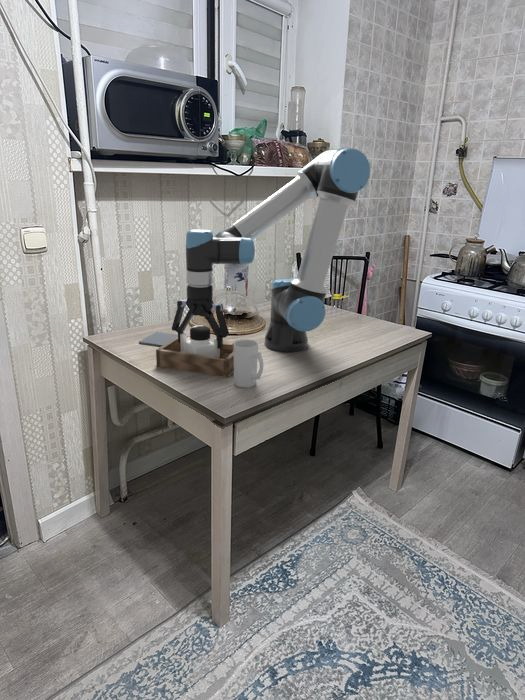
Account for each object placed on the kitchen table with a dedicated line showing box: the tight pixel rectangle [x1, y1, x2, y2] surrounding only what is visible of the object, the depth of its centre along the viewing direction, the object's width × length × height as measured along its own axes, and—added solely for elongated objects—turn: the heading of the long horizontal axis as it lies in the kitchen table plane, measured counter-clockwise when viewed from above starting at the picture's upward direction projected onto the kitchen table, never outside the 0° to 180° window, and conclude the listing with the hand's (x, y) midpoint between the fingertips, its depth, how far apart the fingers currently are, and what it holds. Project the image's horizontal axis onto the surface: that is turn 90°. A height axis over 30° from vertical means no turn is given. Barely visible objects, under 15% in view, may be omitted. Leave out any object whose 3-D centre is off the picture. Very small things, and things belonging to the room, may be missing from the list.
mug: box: [233, 339, 264, 389], centre depth 132 cm, size 10×7×12 cm, turn 46°
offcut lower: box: [219, 353, 230, 359], centre depth 151 cm, size 8×4×3 cm, turn 72°
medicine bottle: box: [185, 324, 214, 357], centre depth 145 cm, size 7×7×12 cm
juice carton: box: [223, 264, 249, 297], centre depth 197 cm, size 9×10×27 cm
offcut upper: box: [220, 340, 235, 354], centre depth 150 cm, size 6×3×3 cm, turn 86°
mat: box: [138, 331, 190, 348], centre depth 166 cm, size 14×12×1 cm
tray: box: [155, 336, 234, 378], centre depth 148 cm, size 23×17×5 cm
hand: (200, 355), depth 146 cm, fingers open, 10 cm apart
